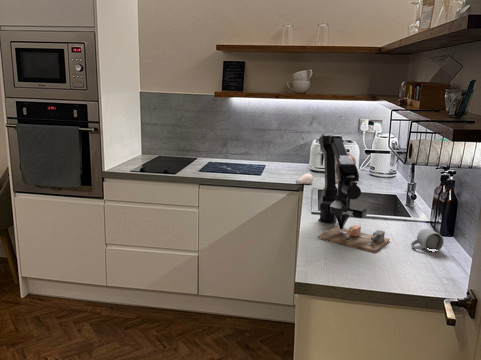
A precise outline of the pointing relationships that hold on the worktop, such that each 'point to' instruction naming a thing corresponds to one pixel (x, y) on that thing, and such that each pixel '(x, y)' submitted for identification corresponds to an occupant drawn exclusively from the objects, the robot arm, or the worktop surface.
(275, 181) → the worktop surface
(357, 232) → the block
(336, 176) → the decorative jar
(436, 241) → the ceramic mug
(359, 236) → the board
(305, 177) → the light bulb
